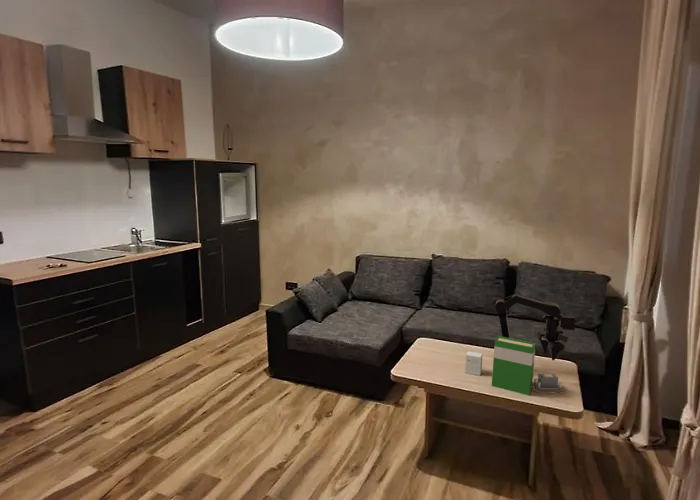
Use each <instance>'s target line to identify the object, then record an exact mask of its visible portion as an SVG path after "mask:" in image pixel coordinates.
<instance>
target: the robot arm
mask: <svg viewBox="0 0 700 500" xmlns="http://www.w3.org/2000/svg"><path fill="white" fill-rule="evenodd" d="M516 304H519V305H523V306H526V307H529V308H533V309H534V310H535V309H536V310H538V311H540V312H541V311H542V312H543V313H544V315H542V319H543V320H545V327H544V328H543V331H542V332H541V331H539V332H537V334H536V337H537V339H538V342H539V344H540V347H541V349H542V351H543V354H547V352H548V348H549V352H550V353H549V354H550V356H551V357H550V358H551V360H552V361H555V360H556V358H557V357H558V354H559V353H560V352H563V351H565V350H566V345H565V344H563V343H562V342H564V343H566V344H567V342H568V341H569V338H570V337H569V336H567V334H565V333H564V331H563V330H565V331H575V329H576V322H575V321H576V319H575V316H566V315H565V316H564V315H563V313H562V312H561V309H560V306H559V304H558V303H556V302H552V301H540V300H537V299H533V298H531V297H527V296H523V295H520V294H518V293H515V294H512V295H509V296H507V297H505V298H499V299H497V300H496V302H495V305H494V307H495V311H496V314H497V316H498V318H499V324H500V329H501V330H500V331H501V337H507V338H511V334H510V329H509V328H510V327H509V321H508V317H507V315H508V314H507V313H508V309H509V308H511V307H512V306H514V305H516ZM559 327H560V329H561V330H560V329H559Z"/></svg>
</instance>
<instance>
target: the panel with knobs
mask: <svg viewBox="0 0 700 500" xmlns="http://www.w3.org/2000/svg"><path fill="white" fill-rule="evenodd" d="M537 382H538V377H534V378H533V381H532V388H533V389H535V391H536V392H537V393H544V392H566V391H565V389H563V387H562V386H563V385H562V384H563V383H562V382H560V381H558V388H541V387H540V385H541V383H540V382H538V384H537Z"/></svg>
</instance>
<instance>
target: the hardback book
mask: <svg viewBox="0 0 700 500" xmlns="http://www.w3.org/2000/svg"><path fill="white" fill-rule="evenodd" d="M536 344H537V343H536V342H531V341H527V340H521V339H516V338H512V337H510V338H507V337H502V335H501V336H500V335H498V336H497V339H495V340H494V348H493V361H492V372H491V374H492V376H491V387H494V388H498V389H502V390H506V391H510V392H514V393H517V394H521V395H526V396H530V394H531V392H532V390H533V389H532V388H533V386H532V382H533V381H534V378H533V377H534V369H535V368H534V367H535V358H536V357H535V355H536Z"/></svg>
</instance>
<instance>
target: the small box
mask: <svg viewBox="0 0 700 500" xmlns="http://www.w3.org/2000/svg"><path fill="white" fill-rule="evenodd" d="M482 369H483V353H481V352H475V351H467V352H466V354H465V367H464V373H465V374H469V375H473V376H477V377H478V376H479V377H481V374H482Z"/></svg>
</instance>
